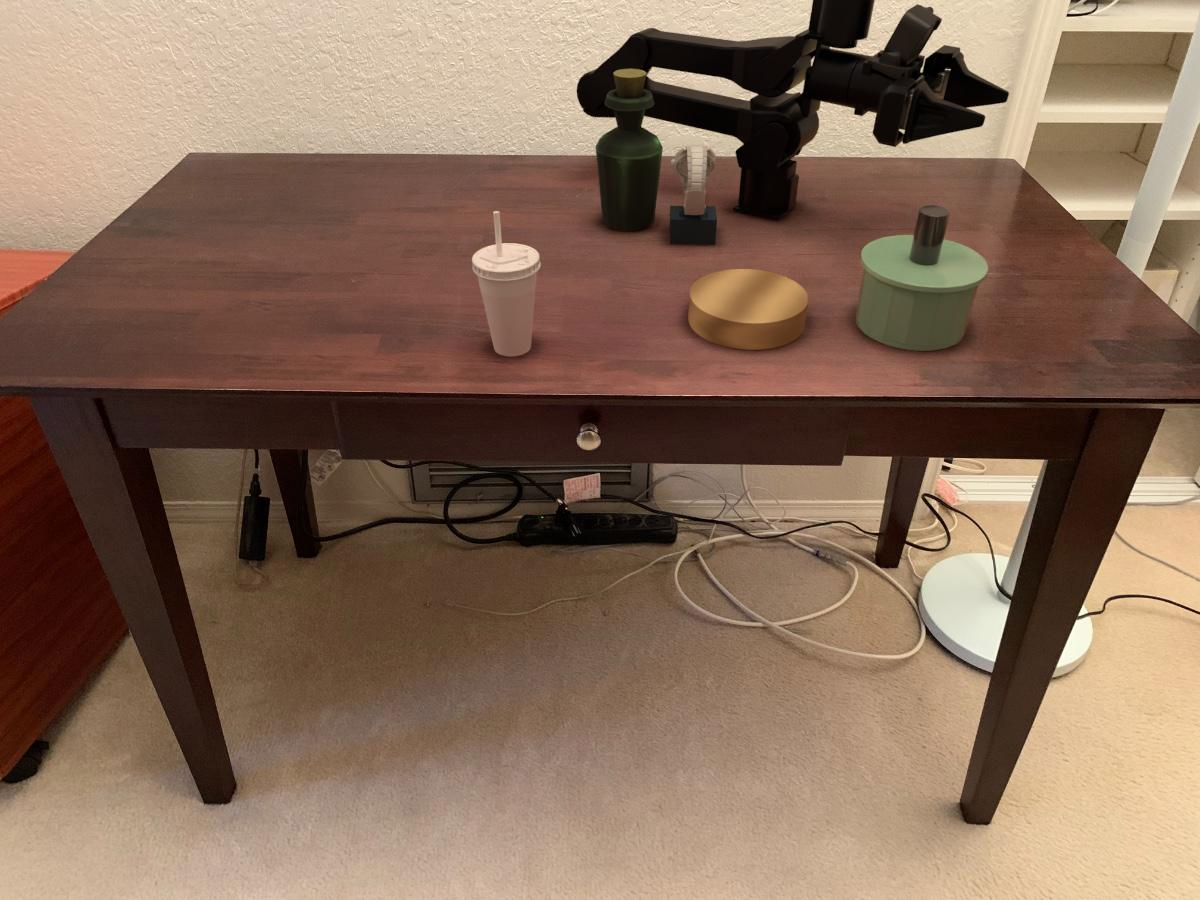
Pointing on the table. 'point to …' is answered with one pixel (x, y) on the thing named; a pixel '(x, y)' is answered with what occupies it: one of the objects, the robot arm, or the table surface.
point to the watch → (693, 198)
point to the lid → (925, 257)
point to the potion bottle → (629, 157)
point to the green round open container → (912, 315)
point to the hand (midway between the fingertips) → (996, 108)
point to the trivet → (747, 309)
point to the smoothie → (508, 291)
